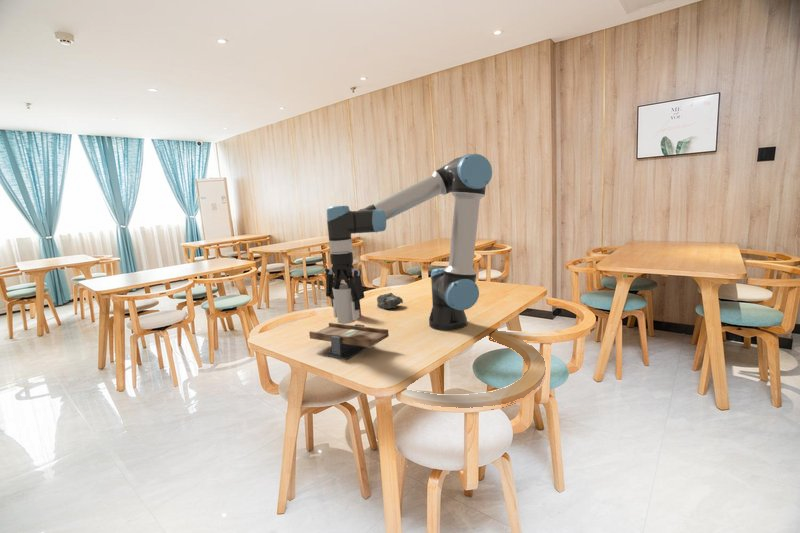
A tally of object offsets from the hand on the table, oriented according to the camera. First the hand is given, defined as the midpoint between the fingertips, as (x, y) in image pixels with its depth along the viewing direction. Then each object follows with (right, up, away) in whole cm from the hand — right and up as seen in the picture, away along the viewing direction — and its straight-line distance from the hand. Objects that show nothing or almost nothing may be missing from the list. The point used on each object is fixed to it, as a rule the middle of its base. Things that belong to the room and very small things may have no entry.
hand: (346, 317), depth 139 cm
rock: (+14, -2, +53) cm, 54 cm away
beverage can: (-2, -5, +42) cm, 42 cm away
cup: (0, -1, 0) cm, 1 cm away
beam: (+1, -7, +1) cm, 7 cm away
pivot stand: (+1, -11, +2) cm, 12 cm away
